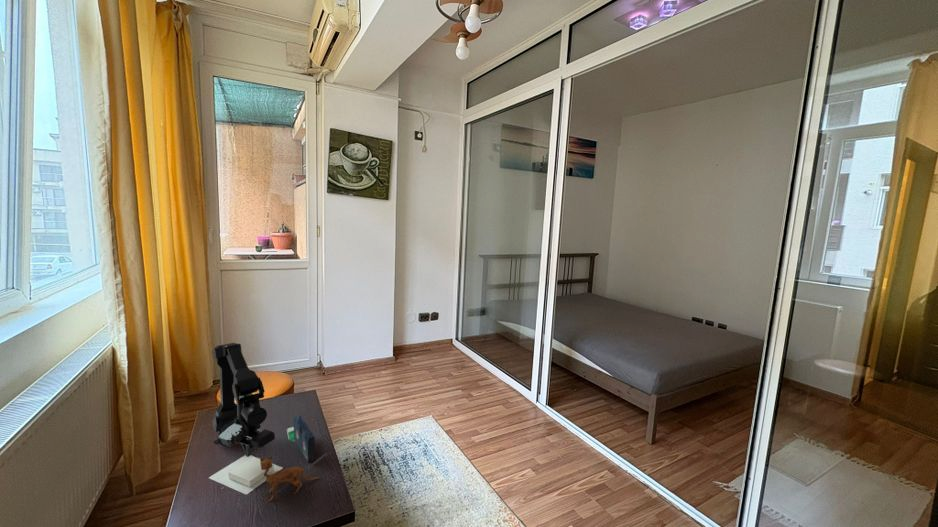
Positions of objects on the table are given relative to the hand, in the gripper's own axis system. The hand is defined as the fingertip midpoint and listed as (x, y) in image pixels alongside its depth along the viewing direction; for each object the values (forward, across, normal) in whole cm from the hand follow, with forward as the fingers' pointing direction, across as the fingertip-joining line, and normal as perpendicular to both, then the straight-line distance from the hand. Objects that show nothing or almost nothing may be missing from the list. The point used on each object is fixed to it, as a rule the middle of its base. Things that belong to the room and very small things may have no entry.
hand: (248, 456), depth 124 cm
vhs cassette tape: (+7, +6, +18) cm, 20 cm away
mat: (+7, -1, 0) cm, 7 cm away
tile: (+5, -4, 0) cm, 6 cm away
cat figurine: (+7, +18, +1) cm, 20 cm away
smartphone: (+8, -3, +24) cm, 25 cm away
